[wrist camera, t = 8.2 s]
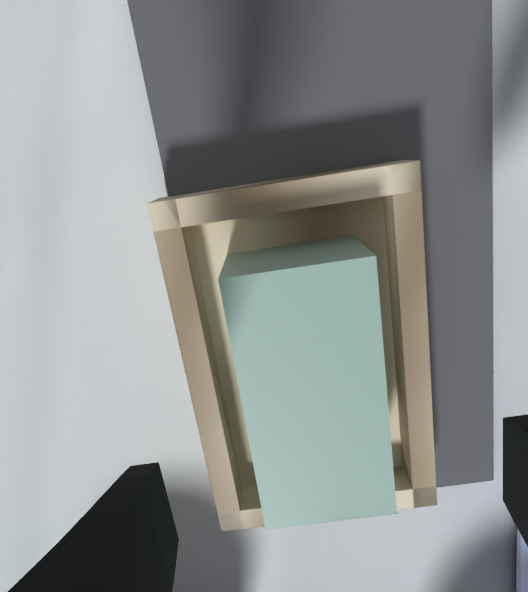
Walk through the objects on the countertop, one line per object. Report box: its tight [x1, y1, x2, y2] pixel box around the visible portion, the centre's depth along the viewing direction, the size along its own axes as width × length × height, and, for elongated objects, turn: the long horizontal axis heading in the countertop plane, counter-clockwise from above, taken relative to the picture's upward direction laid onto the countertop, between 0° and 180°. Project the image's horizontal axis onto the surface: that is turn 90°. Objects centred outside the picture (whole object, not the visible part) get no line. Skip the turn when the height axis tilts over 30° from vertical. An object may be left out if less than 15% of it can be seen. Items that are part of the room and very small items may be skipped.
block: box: [218, 235, 397, 530], centre depth 14 cm, size 8×4×3 cm, turn 9°
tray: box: [147, 160, 437, 532], centre depth 15 cm, size 8×12×2 cm, turn 9°
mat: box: [127, 0, 494, 487], centre depth 15 cm, size 10×20×1 cm, turn 9°
